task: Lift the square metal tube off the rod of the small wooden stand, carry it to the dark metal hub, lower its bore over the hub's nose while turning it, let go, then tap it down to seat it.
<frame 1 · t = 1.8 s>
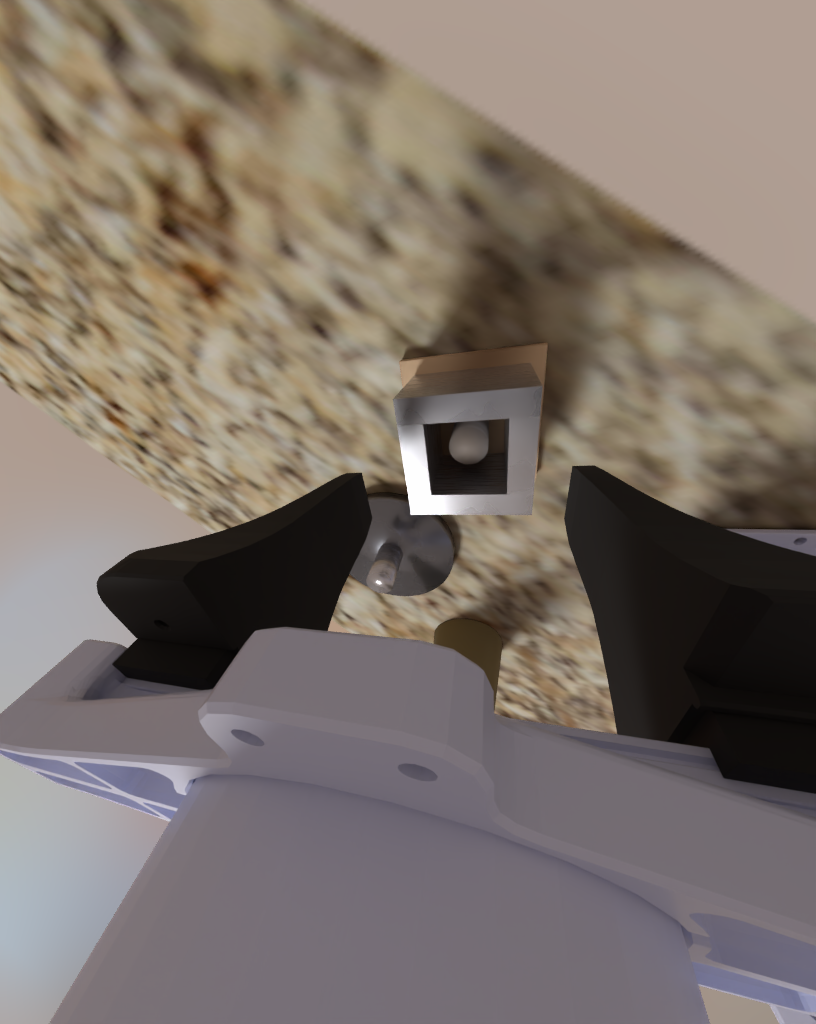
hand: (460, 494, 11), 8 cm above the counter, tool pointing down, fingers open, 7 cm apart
cork: (467, 638, 29), on the counter
hub: (394, 544, 24), on the counter
square metal tube: (471, 424, 17), point 1 cm above the counter, touching stand
stand: (472, 421, 18), on the counter
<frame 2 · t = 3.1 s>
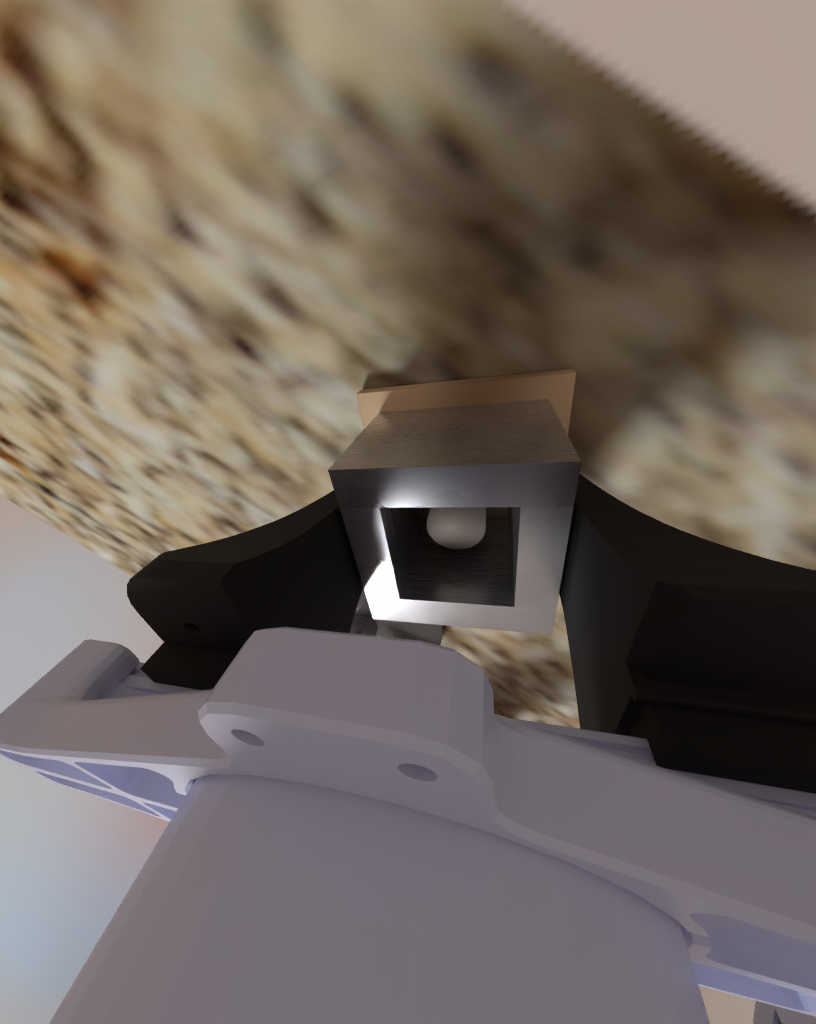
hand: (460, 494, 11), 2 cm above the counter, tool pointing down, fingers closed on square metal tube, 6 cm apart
hub: (367, 611, 19), on the counter
square metal tube: (462, 480, 12), point 1 cm above the counter, touching gripper, stand
stand: (463, 472, 13), on the counter
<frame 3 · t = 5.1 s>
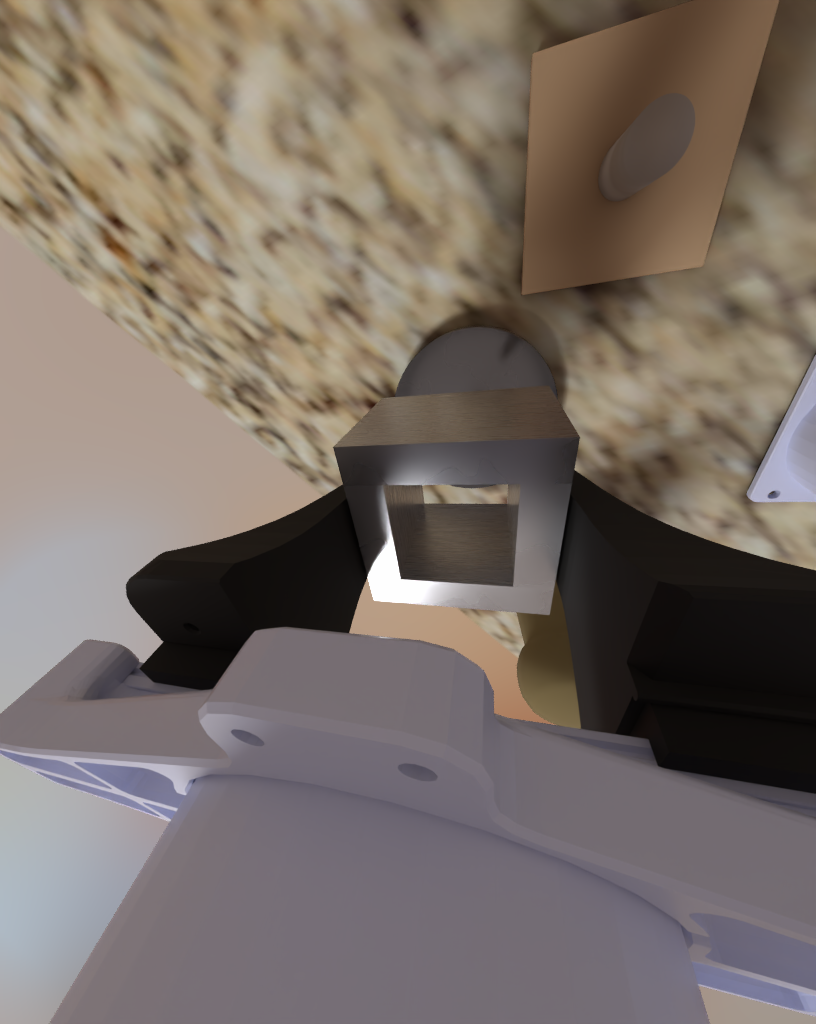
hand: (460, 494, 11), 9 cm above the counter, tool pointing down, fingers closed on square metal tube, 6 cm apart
cork: (545, 554, 24), on the counter
hub: (471, 413, 19), on the counter
square metal tube: (463, 466, 13), point 8 cm above the counter, touching gripper
stand: (620, 173, 13), on the counter
when the fingers open (4 cm above the counter, at t = 7.1 s): square metal tube drops 1 cm, resting on hub.
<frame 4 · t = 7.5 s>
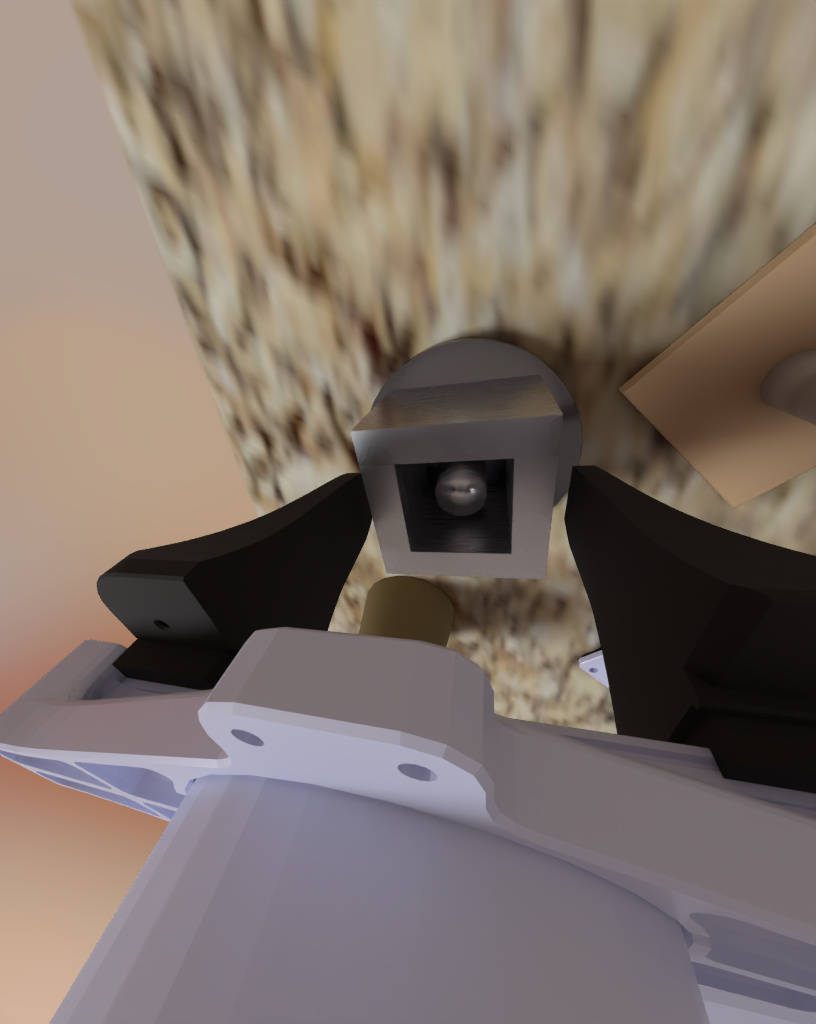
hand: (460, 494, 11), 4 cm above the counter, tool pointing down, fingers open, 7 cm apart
cork: (410, 605, 22), on the counter
hub: (466, 449, 15), on the counter
square metal tube: (464, 452, 14), point 1 cm above the counter, touching hub
stand: (783, 375, 11), on the counter
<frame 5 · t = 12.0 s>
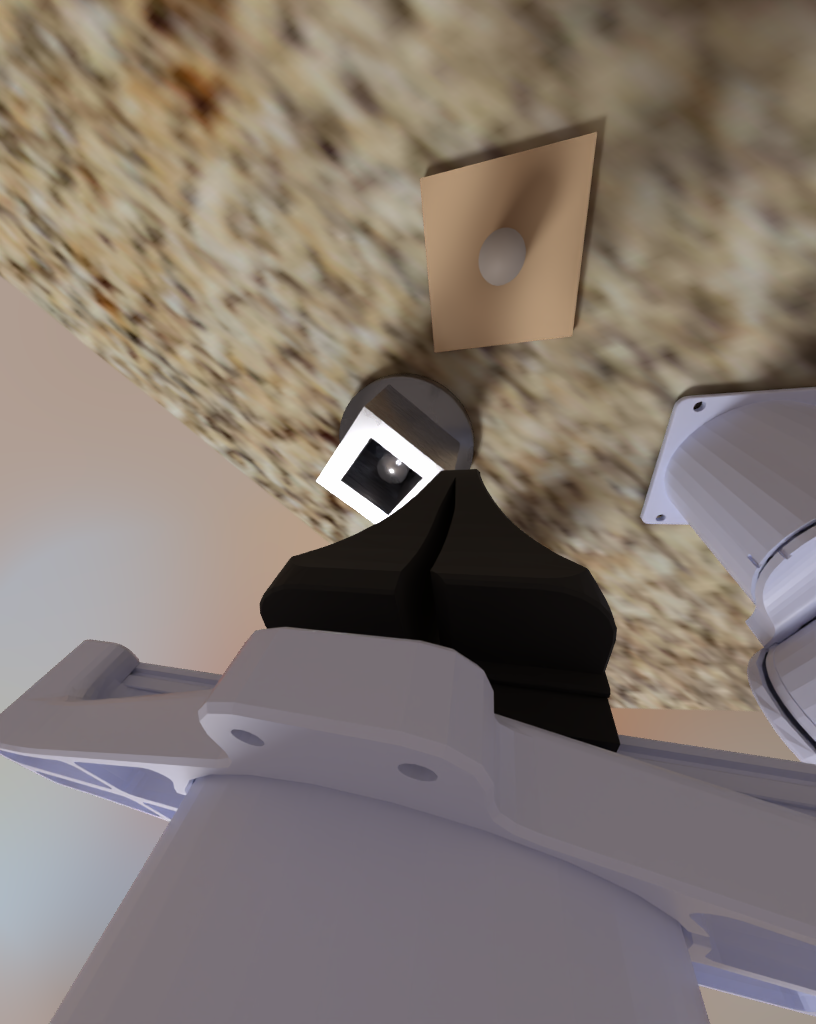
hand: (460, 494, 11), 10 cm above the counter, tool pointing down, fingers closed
hub: (407, 443, 22), on the counter
square metal tube: (400, 446, 21), point 1 cm above the counter, touching hub
stand: (500, 263, 16), on the counter
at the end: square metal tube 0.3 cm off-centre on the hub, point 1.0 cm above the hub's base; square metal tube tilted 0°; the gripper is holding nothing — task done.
